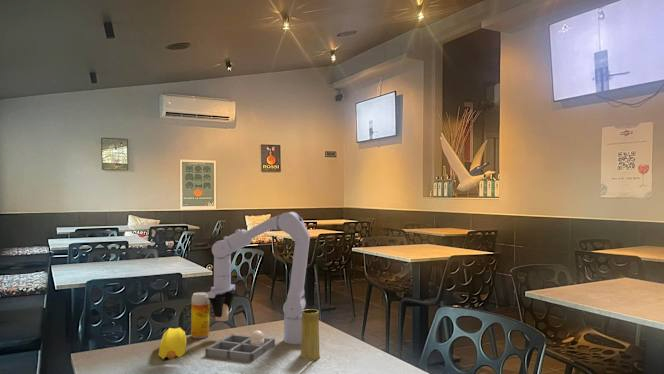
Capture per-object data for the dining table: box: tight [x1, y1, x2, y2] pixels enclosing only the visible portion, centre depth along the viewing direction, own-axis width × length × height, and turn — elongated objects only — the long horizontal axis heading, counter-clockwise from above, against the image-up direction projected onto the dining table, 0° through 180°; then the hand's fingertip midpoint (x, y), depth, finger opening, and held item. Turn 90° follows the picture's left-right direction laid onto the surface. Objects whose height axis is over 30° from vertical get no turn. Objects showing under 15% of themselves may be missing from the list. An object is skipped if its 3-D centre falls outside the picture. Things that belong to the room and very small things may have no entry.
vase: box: [300, 308, 321, 362], centre depth 146 cm, size 6×6×14 cm
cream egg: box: [249, 329, 265, 345], centre depth 152 cm, size 4×4×6 cm
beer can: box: [190, 291, 211, 340], centre depth 167 cm, size 6×6×15 cm
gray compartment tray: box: [204, 333, 276, 363], centre depth 149 cm, size 16×16×3 cm
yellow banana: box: [158, 327, 188, 360], centre depth 150 cm, size 18×7×8 cm
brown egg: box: [214, 303, 230, 322], centre depth 163 cm, size 4×4×6 cm
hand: (222, 314), depth 163 cm, fingers closed on brown egg, 4 cm apart
